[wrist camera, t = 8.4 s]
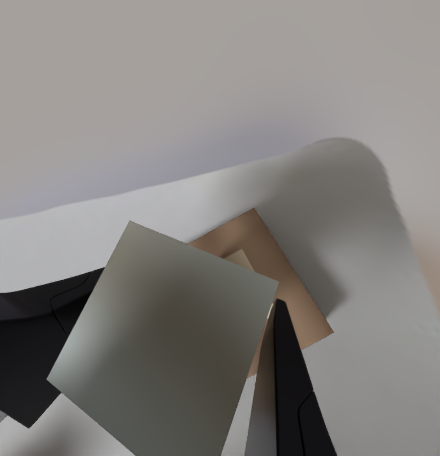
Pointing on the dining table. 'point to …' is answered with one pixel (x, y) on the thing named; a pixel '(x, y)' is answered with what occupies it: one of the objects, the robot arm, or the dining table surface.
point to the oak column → (165, 345)
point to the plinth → (267, 274)
